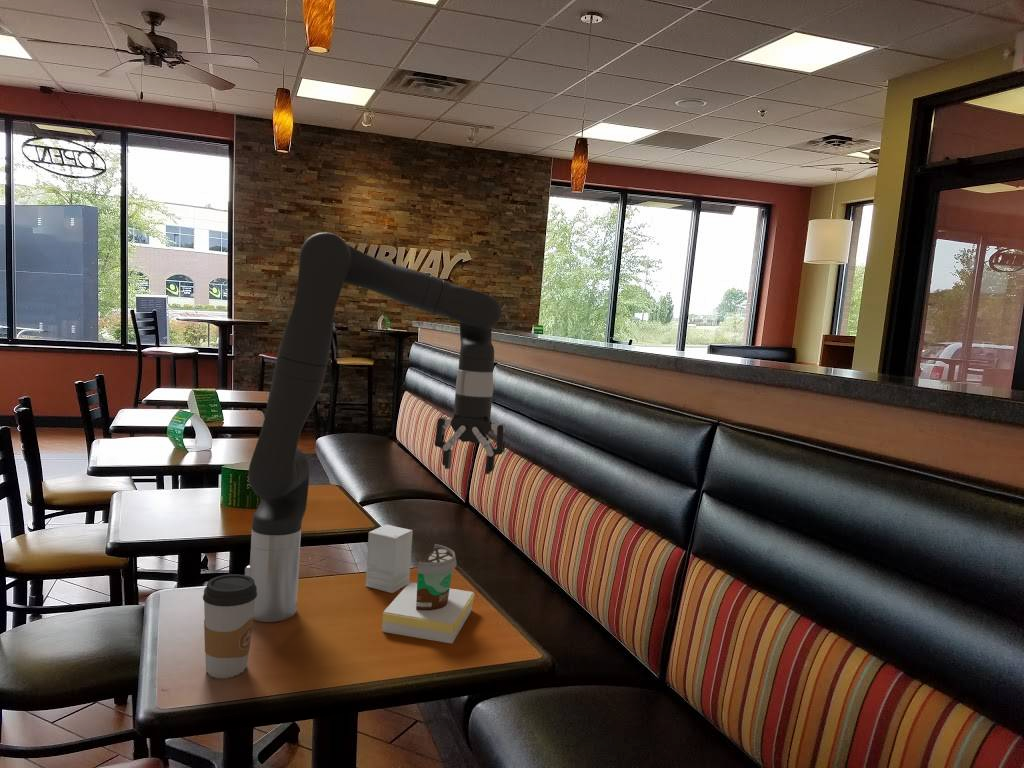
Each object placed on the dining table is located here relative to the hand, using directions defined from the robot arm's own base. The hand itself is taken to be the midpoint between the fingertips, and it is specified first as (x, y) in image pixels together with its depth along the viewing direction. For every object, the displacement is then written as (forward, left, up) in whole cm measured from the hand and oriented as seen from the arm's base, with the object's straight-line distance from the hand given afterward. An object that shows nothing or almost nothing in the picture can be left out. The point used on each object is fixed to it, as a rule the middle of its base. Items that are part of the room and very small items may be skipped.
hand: (467, 470), depth 144 cm
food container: (-3, -6, -26) cm, 27 cm away
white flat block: (-4, -6, -30) cm, 31 cm away
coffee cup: (-30, -36, -30) cm, 56 cm away
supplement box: (-18, +8, -31) cm, 36 cm away
